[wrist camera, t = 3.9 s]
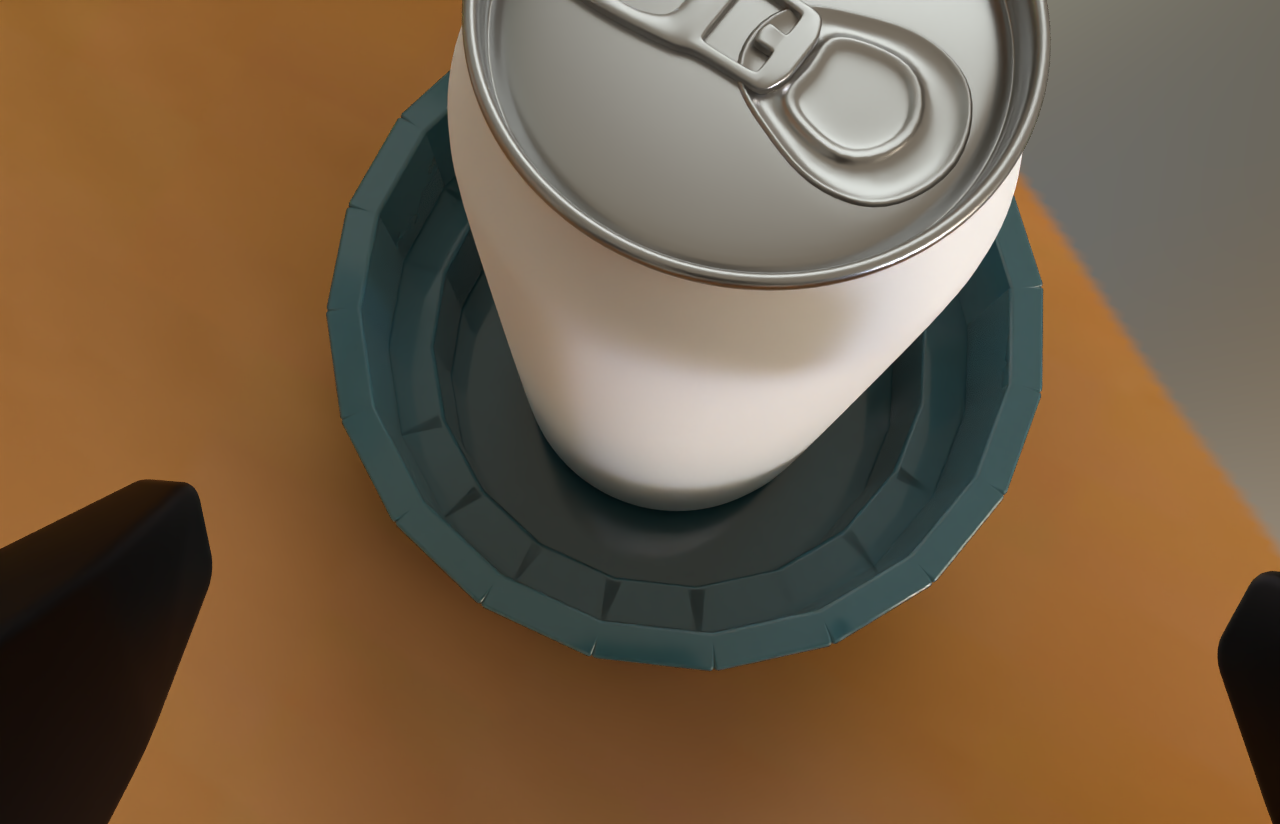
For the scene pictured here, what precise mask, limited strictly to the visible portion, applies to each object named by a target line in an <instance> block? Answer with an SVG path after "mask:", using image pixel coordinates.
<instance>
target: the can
mask: <svg viewBox="0 0 1280 824" xmlns="http://www.w3.org/2000/svg"><path fill="white" fill-rule="evenodd" d="M1050 44H1051V37H1050V21H1049V13H1048V5H1047V0H462V26H461V29H460V33H459V36H458V39H457V42H456V46H455V50H454V54H453V58H452V64H451V69H450V76H449V84H448V105H447V110H448V128H449V138H450V147H451V154H452V161H453V165H454V170H455V175H456V178H457V182H458V186H459V190H460V194H461V198H462V201H463V205H464V209H465V212H466V215H467V218H468V222H469V225H470V228H471V231H472V234H473V238H474V241H475V244H476V247H477V250H478V253H479V256H480V259H481V263H482V266H483V269H484V272H485V275H486V278H487V281H488V284H489V287H490V290H491V293H492V296H493V299H494V302H495V305H496V308H497V311H498V314H499V317H500V320H501V323H502V326H503V329H504V332H505V335H506V338H507V341H508V344H509V347H510V350H511V353H512V356H513V359H514V362H515V365H516V368H517V371H518V374H519V376H520V379H521V382H522V385H523V388H524V391H525V393H526V396H527V399H528V401H529V404H530V407H531V409H532V412H533V414H534V416H535V419H536V421H537V423H538V425H539V427H540V429H541V431H542V433H543V435H544V436H545V438H546V439H547V441H548V442H549V444H550V445H551V447H552V448H553V449H554V451H555V452H556V453H557V455H558V456H559V457H560V458H561V459H562V460H563V461H564V462H565V464H566V465H567V466H568V467H569V468H571V469H572V470H573V471H574V472H575V473H576V474H577V475H578V476H580V477H581V478H582V479H583V480H585V481H586V482H588V483H589V484H590V485H592V486H594V487H595V488H597V489H598V490H600V491H602V492H604V493H606V494H608V495H610V496H612V497H614V498H616V499H619V500H621V501H624V502H627V503H630V504H633V505H637V506H640V507H645V508H650V509H656V510H666V511H689V510H699V509H705V508H710V507H714V506H718V505H722V504H725V503H728V502H731V501H733V500H736V499H738V498H740V497H743V496H745V495H747V494H749V493H751V492H753V491H755V490H757V489H758V488H760V487H762V486H764V485H765V484H767V483H768V482H770V481H771V480H772V479H774V478H775V477H776V476H778V475H779V474H780V473H781V472H782V471H784V470H785V469H786V468H787V467H788V466H789V465H790V464H791V463H792V462H793V461H794V460H795V459H796V458H797V457H798V456H799V455H800V454H801V453H803V452H804V451H805V450H806V449H807V448H808V447H809V446H810V445H811V444H812V443H813V442H814V441H815V440H816V439H817V438H818V437H819V436H820V435H821V434H822V433H823V432H824V431H825V430H826V429H827V428H828V427H829V426H830V425H831V424H832V423H833V422H834V421H835V420H836V419H837V418H838V417H839V416H840V415H841V414H842V413H843V412H844V411H845V410H846V409H847V408H848V407H849V406H850V405H851V404H852V403H853V402H854V401H855V400H856V399H857V398H858V397H859V396H860V395H861V394H862V393H863V392H864V391H865V390H866V389H867V388H868V387H869V386H870V385H871V384H872V383H873V382H874V381H875V380H876V379H877V378H878V377H879V376H880V375H881V374H882V373H883V372H884V371H885V370H886V369H887V368H888V367H889V366H890V365H891V364H892V363H893V362H894V361H895V360H896V359H897V358H898V357H899V356H900V355H901V354H902V353H903V352H904V351H905V350H906V349H907V348H908V347H909V346H910V345H911V344H912V343H913V341H914V340H915V339H916V338H917V337H918V336H919V335H920V334H921V333H922V332H923V331H924V330H925V329H926V328H927V327H928V326H929V325H930V324H931V323H932V322H933V321H934V320H935V319H936V317H937V316H938V315H939V314H940V313H941V312H942V311H943V310H944V309H945V307H946V306H947V305H948V304H949V303H950V302H951V301H952V300H953V298H954V297H955V296H956V295H957V294H958V293H959V292H960V290H961V289H962V288H963V287H964V285H965V284H966V283H967V282H968V280H969V279H970V278H971V276H972V275H973V273H974V272H975V271H976V269H977V267H978V266H979V264H980V263H981V261H982V260H983V258H984V257H985V255H986V254H987V252H988V250H989V249H990V247H991V245H992V244H993V242H994V240H995V238H996V236H997V234H998V232H999V230H1000V228H1001V226H1002V224H1003V222H1004V220H1005V217H1006V215H1007V212H1008V210H1009V207H1010V204H1011V201H1012V198H1013V195H1014V191H1015V188H1016V184H1017V180H1018V175H1019V169H1020V164H1021V158H1022V152H1023V150H1024V149H1025V147H1026V145H1027V143H1028V141H1029V139H1030V136H1031V134H1032V132H1033V129H1034V127H1035V124H1036V122H1037V119H1038V116H1039V113H1040V110H1041V106H1042V103H1043V99H1044V95H1045V91H1046V86H1047V80H1048V73H1049V65H1050V47H1051V45H1050Z"/></svg>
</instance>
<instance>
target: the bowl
mask: <svg viewBox="0 0 1280 824" xmlns="http://www.w3.org/2000/svg"><path fill="white" fill-rule="evenodd" d="M449 76H450V71H448V72H447V73H446V74H445V75H444V76H443V77H442V78H441V79H440V80H439V81H437V82H436V83H435V84H434V85H433V86H432V87H431V88H430V89H429V90H427V91H426V92H425V93H424V94H423V95H422V96H421V97H420V98H419V99H417V100H416V101H415V102H414V103H413V104H412V105H411V106H410V107H409V108H408V109H406V110H405V111H404V112H403V113H402V114H401V118H398V119H397V121H396V123H395V124H394V126H393V128H392V130H391V131H390V133H389V135H388V136H387V138H386V140H385V142H384V143H383V145H382V147H381V149H380V150H379V152H378V154H377V155H376V157H375V159H374V161H373V162H372V164H371V166H370V168H369V169H368V171H367V173H366V174H365V176H364V178H363V180H362V181H361V183H360V185H359V187H358V188H357V190H356V192H355V193H354V195H353V197H352V199H351V200H350V202H349V208H347V210H346V214H345V219H344V224H343V228H342V233H341V238H340V243H339V248H338V253H337V258H336V263H335V268H334V273H333V278H332V283H331V288H330V293H329V298H328V303H327V313H326V317H327V324H328V332H329V339H330V346H331V353H332V361H333V368H334V375H335V382H336V390H337V397H338V404H339V411H340V417H341V419H342V424H343V426H344V428H345V430H346V432H347V434H348V436H349V438H350V440H351V442H352V444H353V446H354V448H355V450H356V451H357V453H358V455H359V457H360V459H361V461H362V463H363V465H364V467H365V469H366V471H367V473H368V475H369V477H370V479H371V481H372V483H373V485H374V487H375V489H376V490H377V492H378V494H379V496H380V498H381V500H382V502H383V504H384V506H385V508H386V510H387V512H388V514H389V516H390V518H391V520H392V521H393V522H395V523H396V526H397V527H398V528H399V529H400V530H401V531H402V532H403V533H404V534H405V535H406V536H408V537H409V538H410V539H411V540H412V541H413V542H414V543H415V544H416V545H417V546H418V547H419V548H420V549H421V550H422V551H423V552H424V553H425V554H426V555H427V556H428V557H429V558H430V559H432V560H433V561H434V562H435V563H436V564H437V565H438V566H439V567H440V568H441V569H442V570H443V571H444V572H445V573H446V574H447V575H448V576H449V577H450V578H451V579H452V580H453V581H454V582H456V583H457V584H458V585H459V586H460V587H461V588H462V589H463V590H464V591H465V592H466V593H467V594H468V595H469V596H470V597H471V598H472V599H473V600H474V601H475V602H476V603H479V604H481V605H482V606H483V608H486V609H488V610H490V611H492V612H494V613H496V614H498V615H501V616H503V617H505V618H507V619H509V620H511V621H513V622H516V623H518V624H520V625H522V626H524V627H526V628H528V629H531V630H533V631H535V632H537V633H539V634H541V635H543V636H545V637H548V638H550V639H552V640H554V641H556V642H558V643H560V644H563V645H565V646H567V647H569V648H571V649H573V650H575V651H578V652H580V653H582V654H584V655H586V656H591V655H592V656H593V657H594V658H597V659H606V660H615V661H624V662H633V663H642V664H651V665H659V666H668V667H677V668H686V669H695V670H704V671H712V670H718V671H719V670H724V669H728V668H733V667H738V666H742V665H747V664H751V663H756V662H761V661H765V660H770V659H774V658H779V657H784V656H788V655H793V654H797V653H802V652H806V651H811V650H816V649H820V648H825V647H829V646H830V645H831V644H836V643H838V642H840V641H842V640H843V639H845V638H847V637H848V636H850V635H851V634H853V633H855V632H856V631H858V630H860V629H861V628H863V627H865V626H866V625H868V624H869V623H871V622H873V621H874V620H876V619H878V618H879V617H881V616H883V615H884V614H886V613H888V612H889V611H891V610H892V609H894V608H896V607H897V606H899V605H901V604H902V603H904V602H906V601H907V600H909V599H910V598H912V597H914V596H915V595H917V594H919V593H920V592H922V591H924V590H925V589H927V588H929V587H930V586H931V584H932V583H933V582H935V581H937V580H938V578H939V577H940V576H941V575H942V574H943V572H944V571H945V570H946V569H947V567H948V566H949V565H950V564H951V563H952V561H953V560H954V559H955V558H956V556H957V555H958V554H959V553H960V551H961V550H962V549H963V548H964V547H965V545H966V544H967V543H968V542H969V540H970V539H971V538H972V537H973V536H974V534H975V533H976V532H977V531H978V529H979V528H980V527H981V526H982V524H983V523H984V522H985V521H986V520H987V518H988V517H989V516H990V515H991V513H992V512H993V511H994V510H995V509H996V507H997V506H998V505H999V504H1000V502H1001V501H1002V500H1003V497H1004V496H1003V495H1005V494H1006V493H1007V490H1008V488H1009V485H1010V482H1011V479H1012V476H1013V474H1014V471H1015V468H1016V465H1017V462H1018V460H1019V457H1020V454H1021V451H1022V448H1023V446H1024V443H1025V440H1026V437H1027V434H1028V432H1029V429H1030V426H1031V423H1032V420H1033V418H1034V415H1035V412H1036V409H1037V406H1038V404H1039V401H1040V398H1041V393H1040V392H1041V391H1042V348H1043V289H1042V280H1041V277H1040V274H1039V271H1038V268H1037V265H1036V262H1035V259H1034V256H1033V253H1032V250H1031V246H1030V243H1029V240H1028V237H1027V234H1026V231H1025V228H1024V225H1023V222H1022V219H1021V216H1020V213H1019V210H1018V207H1017V203H1016V200H1015V197H1014V195H1013V198H1012V201H1011V204H1010V207H1009V210H1008V212H1007V215H1006V217H1005V220H1004V222H1003V224H1002V226H1001V228H1000V230H999V232H998V234H997V236H996V238H995V240H994V242H993V244H992V245H991V247H990V249H989V250H988V252H987V254H986V255H985V257H984V258H983V260H982V261H981V263H980V264H979V266H978V267H977V269H976V271H975V272H974V273H973V275H972V276H971V278H970V279H969V280H968V282H967V283H966V284H965V285H964V287H963V288H962V289H961V290H960V292H959V293H958V294H957V295H956V296H955V297H954V298H953V300H952V301H951V302H950V303H949V304H948V305H947V306H946V307H945V309H944V310H943V311H942V312H941V313H940V314H939V315H938V316H937V317H936V319H935V320H934V321H933V322H932V323H931V324H930V325H929V326H928V327H927V328H926V329H925V330H924V331H923V332H922V333H921V334H920V335H919V336H918V337H917V338H916V339H915V340H914V341H913V343H912V344H911V345H910V346H909V347H908V348H907V349H906V350H905V351H904V352H903V353H902V354H901V355H900V356H899V357H898V358H897V359H896V360H895V361H894V362H893V363H892V364H891V365H890V366H889V367H888V368H887V369H886V370H885V371H884V372H883V373H882V374H881V375H880V376H879V377H878V378H877V379H876V380H875V381H874V382H873V383H872V384H871V385H870V386H869V387H868V388H867V389H866V390H865V391H864V392H863V393H862V394H861V395H860V396H859V397H858V398H857V399H856V400H855V401H854V402H853V403H852V404H851V405H850V406H849V407H848V408H847V409H846V410H845V411H844V412H843V413H842V414H841V415H840V416H839V417H838V418H837V419H836V420H835V421H834V422H833V423H832V424H831V425H830V426H829V427H828V428H827V429H826V430H825V431H824V432H823V433H822V434H821V435H820V436H819V437H818V438H817V439H816V440H815V441H814V442H813V443H812V444H811V445H810V446H809V447H808V448H807V449H806V450H805V451H804V452H803V453H801V454H800V455H799V456H798V457H797V458H796V459H795V460H794V461H793V462H792V463H791V464H790V465H789V466H788V467H787V468H786V469H785V470H784V471H782V472H781V473H780V474H779V475H778V476H776V477H775V478H774V479H772V480H771V481H770V482H768V483H767V484H765V485H764V486H762V487H760V488H758V489H757V490H755V491H753V492H751V493H749V494H747V495H745V496H743V497H740V498H738V499H736V500H733V501H731V502H728V503H725V504H722V505H718V506H714V507H710V508H705V509H699V510H689V511H666V510H656V509H650V508H645V507H640V506H637V505H633V504H630V503H627V502H624V501H621V500H619V499H616V498H614V497H612V496H610V495H608V494H606V493H604V492H602V491H600V490H598V489H597V488H595V487H594V486H592V485H590V484H589V483H588V482H586V481H585V480H583V479H582V478H581V477H580V476H578V475H577V474H576V473H575V472H574V471H573V470H572V469H571V468H569V467H568V466H567V465H566V464H565V462H564V461H563V460H562V459H561V458H560V457H559V456H558V455H557V453H556V452H555V451H554V449H553V448H552V447H551V445H550V444H549V442H548V441H547V439H546V438H545V436H544V435H543V433H542V431H541V429H540V427H539V425H538V423H537V421H536V419H535V416H534V414H533V412H532V409H531V407H530V404H529V401H528V399H527V396H526V393H525V391H524V388H523V385H522V382H521V379H520V376H519V374H518V371H517V368H516V365H515V362H514V359H513V356H512V353H511V350H510V347H509V344H508V341H507V338H506V335H505V332H504V329H503V326H502V323H501V320H500V317H499V314H498V311H497V308H496V305H495V302H494V299H493V296H492V293H491V290H490V287H489V284H488V281H487V278H486V275H485V272H484V269H483V266H482V263H481V259H480V256H479V253H478V250H477V247H476V244H475V241H474V238H473V234H472V231H471V228H470V225H469V222H468V218H467V215H466V212H465V209H464V205H463V201H462V198H461V194H460V190H459V186H458V182H457V178H456V175H455V170H454V165H453V161H452V154H451V147H450V138H449V128H448V110H447V105H448V84H449Z"/></svg>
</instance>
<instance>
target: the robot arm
mask: <svg viewBox="0 0 1280 824" xmlns="http://www.w3.org/2000/svg"><path fill="white" fill-rule="evenodd" d="M211 575H212V556H211V551H210V546H209V541H208V536H207V531H206V527H205V522H204V517H203V512H202V507H201V503H200V499H199V496H198V493H197V491H196V490H195V488H194V487H193V486H191V485H190V484H188V483H185V482H175V481H163V480H139V481H137V482H134V483H132V484H130V485H128V486H126V487H124V488H122V489H120V490H118V491H116V492H114V493H112V494H110V495H108V496H106V497H104V498H102V499H100V500H98V501H96V502H94V503H92V504H90V505H88V506H86V507H84V508H82V509H80V510H78V511H76V512H74V513H72V514H70V515H68V516H66V517H64V518H62V519H60V520H58V521H56V522H54V523H52V524H50V525H48V526H46V527H44V528H42V529H40V530H38V531H36V532H34V533H32V534H30V535H28V536H26V537H23V538H21V539H19V540H17V541H15V542H13V543H11V544H9V545H7V546H5V547H3V548H1V549H0V824H108V822H109V821H110V819H111V817H112V815H113V813H114V811H115V809H116V807H117V805H118V803H119V801H120V799H121V797H122V795H123V793H124V792H125V790H126V788H127V786H128V784H129V782H130V780H131V778H132V776H133V774H134V772H135V770H136V768H137V766H138V764H139V762H140V760H141V758H142V755H143V753H144V751H145V749H146V747H147V745H148V742H149V740H150V738H151V735H152V733H153V730H154V728H155V726H156V723H157V721H158V718H159V716H160V713H161V710H162V708H163V705H164V703H165V700H166V697H167V695H168V692H169V690H170V687H171V684H172V682H173V679H174V676H175V674H176V671H177V669H178V666H179V663H180V661H181V658H182V656H183V653H184V650H185V648H186V645H187V643H188V640H189V637H190V635H191V632H192V629H193V627H194V624H195V622H196V619H197V616H198V614H199V611H200V609H201V606H202V603H203V601H204V598H205V595H206V593H207V590H208V587H209V584H210V580H211ZM1217 657H1218V665H1219V670H1220V673H1221V676H1222V679H1223V682H1224V685H1225V688H1226V691H1227V694H1228V696H1229V699H1230V702H1231V705H1232V708H1233V711H1234V714H1235V717H1236V720H1237V723H1238V726H1239V729H1240V731H1241V734H1242V737H1243V740H1244V743H1245V746H1246V749H1247V752H1248V755H1249V758H1250V761H1251V763H1252V766H1253V769H1254V772H1255V775H1256V778H1257V781H1258V784H1259V787H1260V790H1261V793H1262V796H1263V798H1264V801H1265V804H1266V807H1267V810H1268V813H1269V815H1270V818H1271V821H1272V823H1273V824H1280V572H1277V571H1269V572H1265V573H1261V574H1260V575H1259V576H1257V577H1256V578H1255V579H1253V581H1252V582H1251V584H1250V585H1249V587H1248V589H1247V591H1246V592H1245V594H1244V596H1243V598H1242V600H1241V601H1240V603H1239V605H1238V607H1237V609H1236V611H1235V612H1234V614H1233V616H1232V618H1231V620H1230V622H1229V623H1228V625H1227V627H1226V629H1225V631H1224V632H1223V634H1222V636H1221V639H1220V641H1219V646H1218V656H1217Z"/></svg>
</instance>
